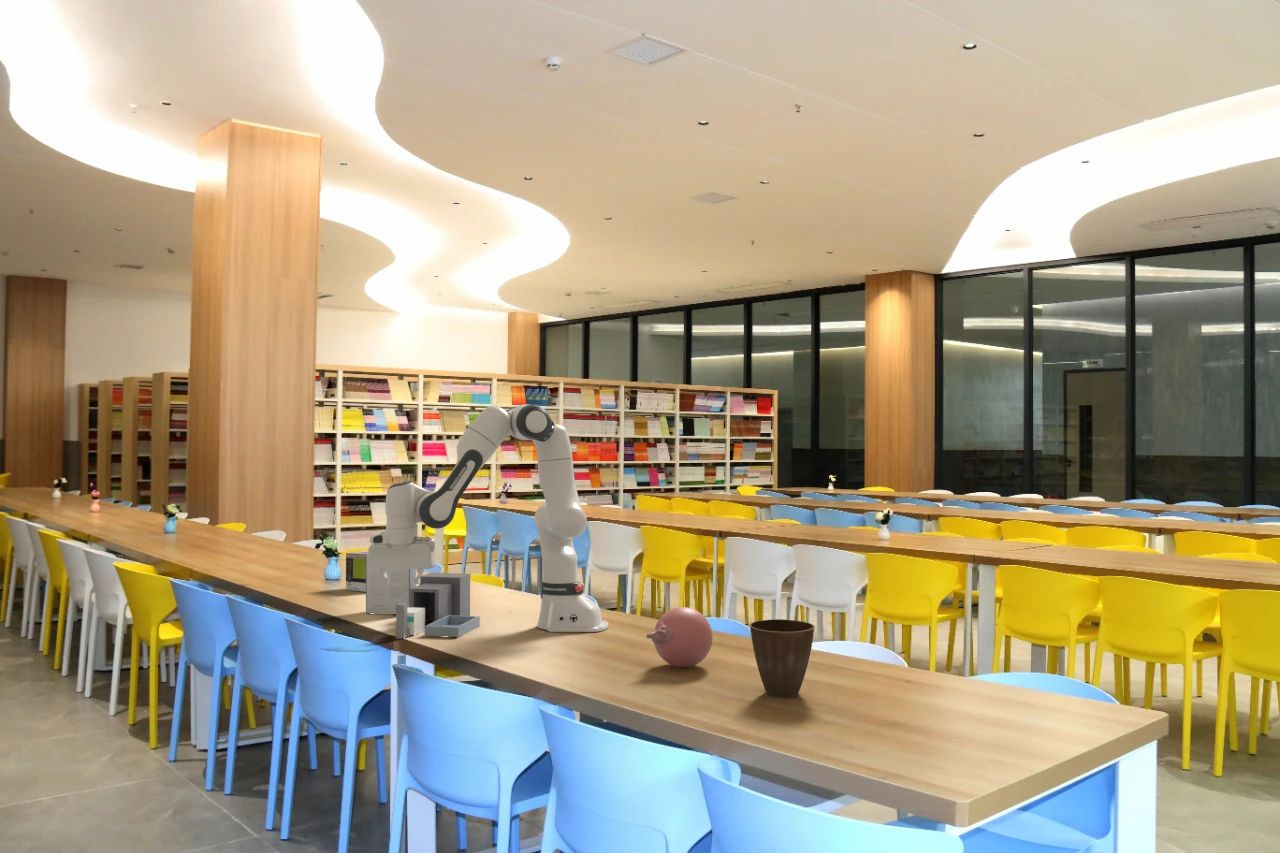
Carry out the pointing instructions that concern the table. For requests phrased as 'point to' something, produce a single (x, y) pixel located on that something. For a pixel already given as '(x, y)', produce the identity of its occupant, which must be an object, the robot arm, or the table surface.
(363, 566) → the tea box
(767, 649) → the plant pot
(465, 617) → the tray
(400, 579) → the hard drive box
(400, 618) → the white box teal stripe
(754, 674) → the table surface
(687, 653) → the pink balloon
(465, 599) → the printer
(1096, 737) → the table surface
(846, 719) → the table surface
